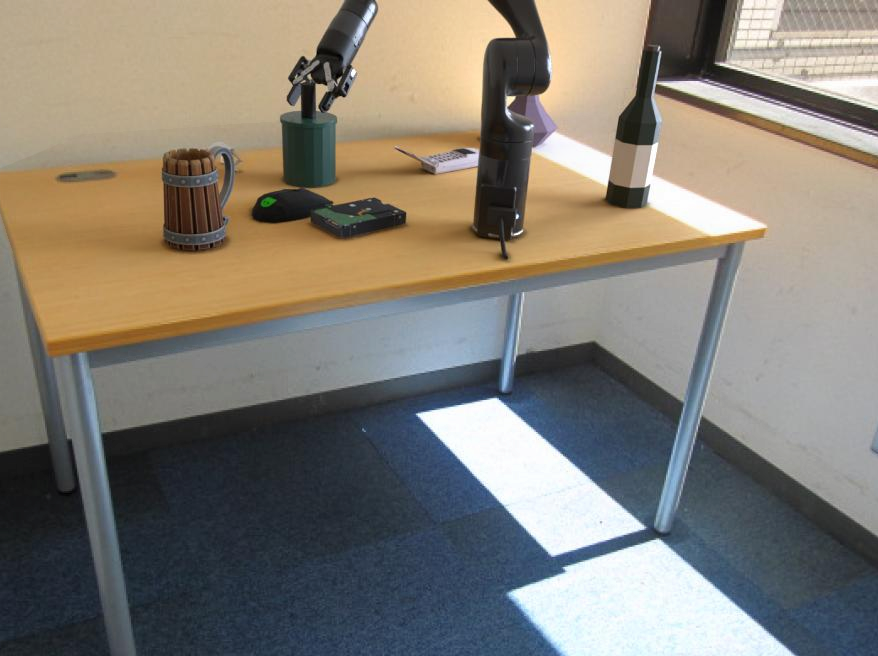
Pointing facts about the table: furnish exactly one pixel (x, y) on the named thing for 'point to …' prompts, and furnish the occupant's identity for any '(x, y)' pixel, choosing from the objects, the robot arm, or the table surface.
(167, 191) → the mug
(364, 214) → the disk drive
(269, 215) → the computer mouse
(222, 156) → the origami figure
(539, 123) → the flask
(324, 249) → the table surface
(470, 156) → the mobile phone
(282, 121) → the green pot lid
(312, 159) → the cylindrical cup
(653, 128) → the wine bottle
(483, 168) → the robot arm
